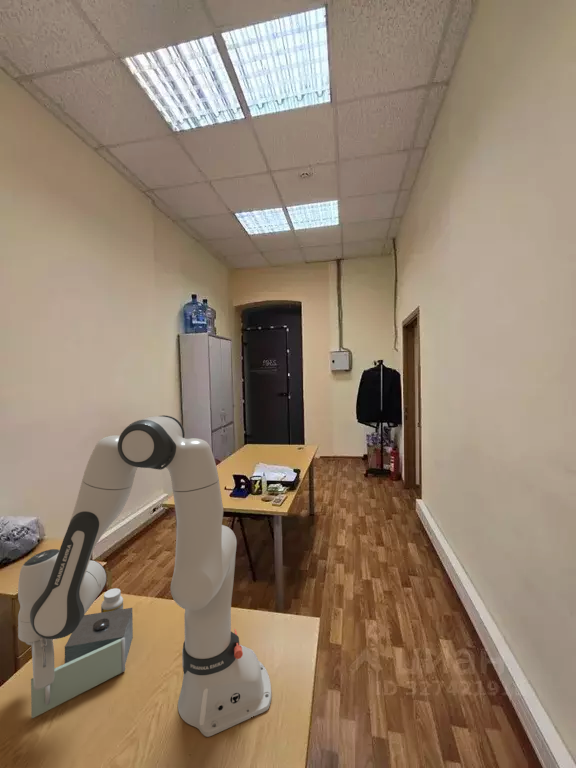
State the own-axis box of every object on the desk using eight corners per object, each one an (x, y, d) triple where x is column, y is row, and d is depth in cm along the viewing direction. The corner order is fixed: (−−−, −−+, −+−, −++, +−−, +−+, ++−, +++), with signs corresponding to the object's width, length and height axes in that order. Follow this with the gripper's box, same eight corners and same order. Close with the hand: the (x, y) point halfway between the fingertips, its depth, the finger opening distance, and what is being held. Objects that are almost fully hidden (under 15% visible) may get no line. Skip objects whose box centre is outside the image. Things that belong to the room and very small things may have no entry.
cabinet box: (132, 637, 103) (132, 605, 102) (123, 669, 91) (123, 634, 91) (81, 646, 99) (80, 613, 99) (65, 681, 88) (64, 644, 87)
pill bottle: (96, 630, 105) (96, 595, 105) (115, 618, 111) (114, 584, 111) (109, 637, 103) (109, 601, 102) (127, 624, 108) (127, 590, 108)
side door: (124, 668, 91) (124, 636, 91) (126, 673, 89) (126, 641, 89) (31, 715, 78) (31, 679, 78) (31, 722, 77) (31, 685, 77)
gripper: (62, 641, 74) (62, 703, 75) (54, 595, 90) (54, 646, 91) (25, 656, 70) (26, 721, 71) (24, 604, 86) (24, 658, 87)
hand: (42, 678), depth 81 cm, fingers closed
